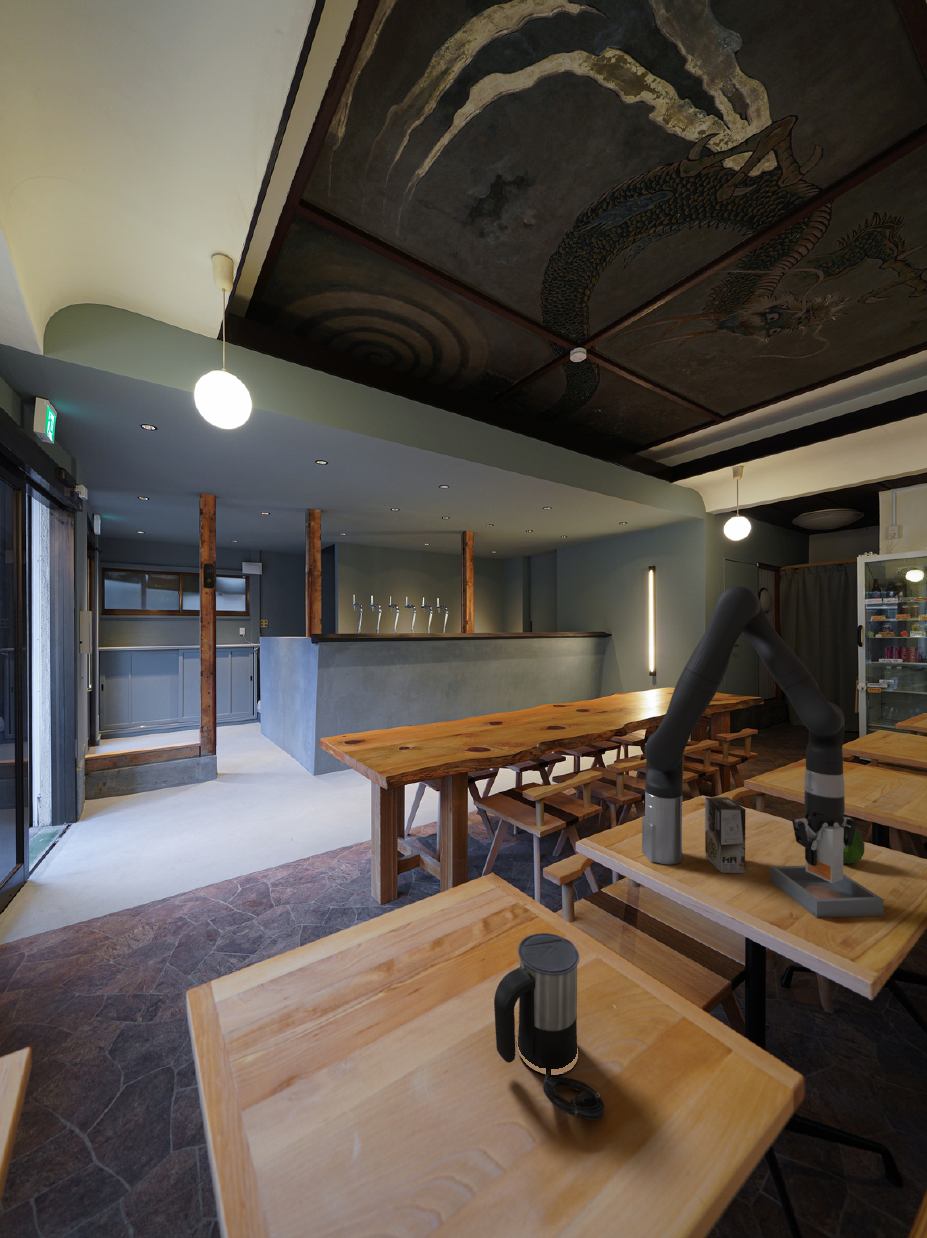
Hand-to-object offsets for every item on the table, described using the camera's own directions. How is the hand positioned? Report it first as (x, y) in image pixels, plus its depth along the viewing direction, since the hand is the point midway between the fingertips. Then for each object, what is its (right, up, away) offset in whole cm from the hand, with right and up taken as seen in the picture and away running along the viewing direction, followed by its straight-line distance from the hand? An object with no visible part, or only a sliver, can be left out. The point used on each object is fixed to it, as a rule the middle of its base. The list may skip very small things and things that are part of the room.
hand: (824, 863), depth 117 cm
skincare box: (0, -3, 0) cm, 3 cm away
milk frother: (-69, -9, -45) cm, 83 cm away
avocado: (+17, -8, +16) cm, 25 cm away
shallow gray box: (0, -8, 0) cm, 8 cm away
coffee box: (-15, -8, +15) cm, 23 cm away
